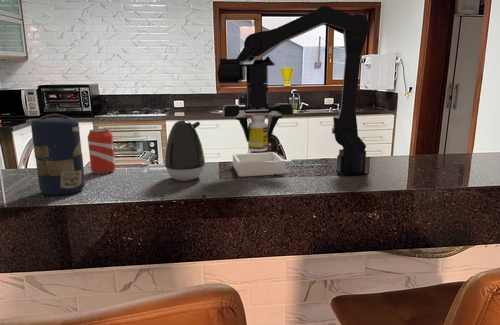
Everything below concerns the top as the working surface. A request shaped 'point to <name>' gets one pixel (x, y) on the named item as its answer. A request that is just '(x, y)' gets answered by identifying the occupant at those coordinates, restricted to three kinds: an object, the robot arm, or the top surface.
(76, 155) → the canister
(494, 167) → the top surface
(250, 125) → the supplement bottle
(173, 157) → the pump dispenser
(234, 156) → the tray
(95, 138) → the beverage can
